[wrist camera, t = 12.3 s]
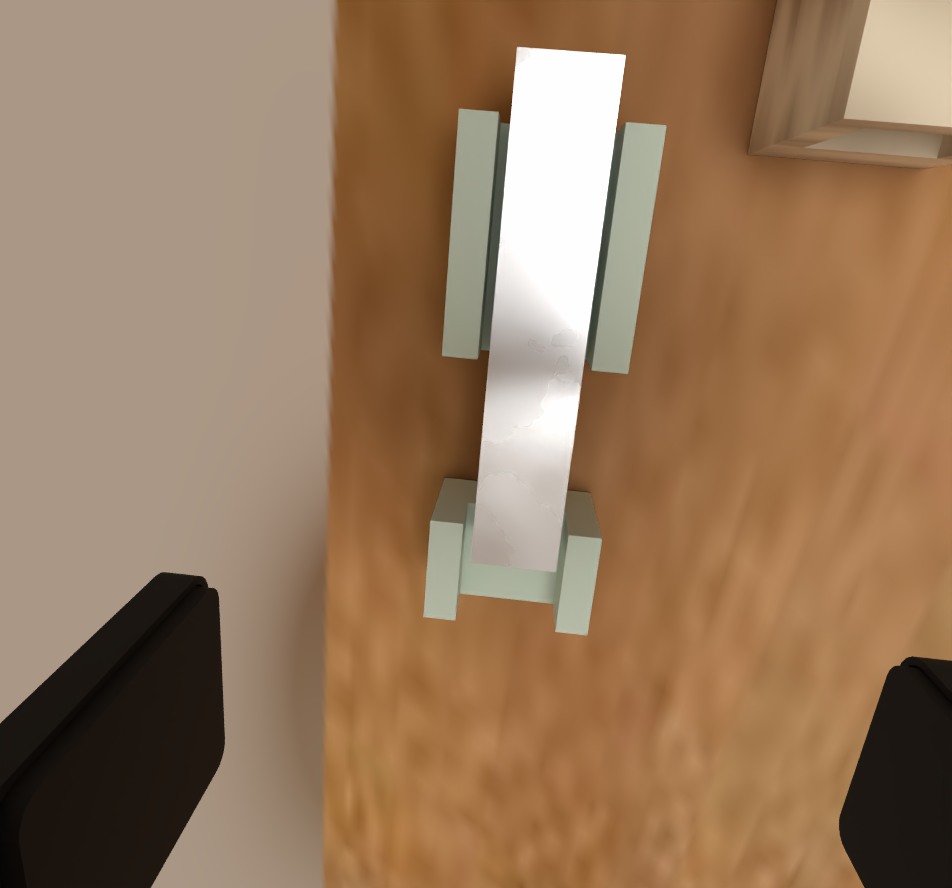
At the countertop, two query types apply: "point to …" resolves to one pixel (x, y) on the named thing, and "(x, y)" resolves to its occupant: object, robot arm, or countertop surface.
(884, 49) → the block
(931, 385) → the countertop surface
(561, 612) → the cradle
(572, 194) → the axle
